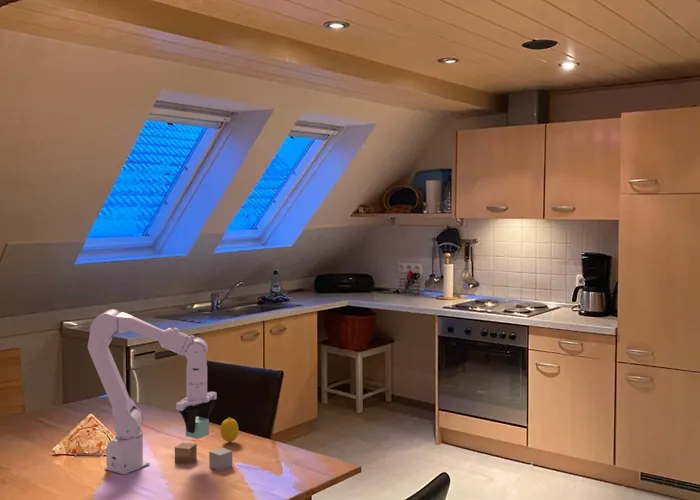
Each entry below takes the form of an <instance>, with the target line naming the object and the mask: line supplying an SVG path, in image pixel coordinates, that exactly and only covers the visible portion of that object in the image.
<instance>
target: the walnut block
mask: <svg viewBox="0 0 700 500" xmlns="http://www.w3.org/2000/svg"><path fill="white" fill-rule="evenodd" d="M197 446H198V445H197V443H191V442H183V441H182V442H181V443H180V444H178V445H176V446H174V463H176V464H177V463H178V464H181V465H182V464H183V465H190V464H191V463H193V462H194V461H196V460H197V458H198V457H197V453H198V451H197V450H198V448H197Z"/></svg>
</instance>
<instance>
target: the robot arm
mask: <svg viewBox="0 0 700 500" xmlns="http://www.w3.org/2000/svg"><path fill="white" fill-rule="evenodd" d="M89 326H90V327H89V336H88V342H87V350H88V353H89V356H90V358H91V359H92V360H91V361H92V362H93V364H94V368H95V369H96V372H97V374H98V377H99V379H100V382H101V384H102V386H103V388H104V391H105V393H106V396H107V399H108V400H109V403H110V405H111V407H112V408H111V411H112V413H111V415H112V418H113V421H114V424H113V425H114V426H113V431H114V432H115V437H114V438H113V439H112V440H109V442H108V443H107V445H106V466H104V470H106V471H110V472H113V473H117V474H120V475H126V474H129V473H131V472H134V471H136V470H138V469H141V468H144V467H146V466H148V465H150V462H149V461H146V460H144V441H143V440H144V435H143V433H144V432H143V430H142V429H141V427H140V426H141V425H142V423H144V413H143V411H142V410H141V409H140V408H139V407H138V406H137V405H136V403H135V401H134V400H133V398H131V397H130V396H129V393H128V391H127V390H128V389H127V388H126V385H125V383H124V381H123V378H122V375H121V374H120V371H119V368H118V367H117V363H116V362H115V360H114V358H113V354H112V352H111V350H110V347H109V345H110V344H111V342H112V341H113V340H112V339H113V338H114V336H115V335H116V334H117V333H118V334H122V333H123V334H124V333H129V332H133V333H136V334H138V335H141V336H144V337H146V338H150V339H153V340H156V341H157V342H158V343H159V344H160V347H161V348H163V349H165V350H168V351H171V352H173V353H175V354H178V355H180V356H184V357H185V358H186V367H185V368H186V397H185V398H183V399H181V400H180V401H178V402H175V410H176V411H178V412H179V413H180V415H181V417H182V419H183V421H184V424H185V429H186V428H187V432H190V433H194V431H195V421H196V417H202V418H207V419H209V420H210V416H211V413H212V411H213V409H214V408H215V405H216V404H215V403H216V402H215V401H214V400H217V397H218V396H217V394H218V393H217V392H216V391H208V365H207V364H208V359H207V355H208V354H207V353H208V350H209V346H208V342H206V341H205V339H203V338H201V337H195V335H192V334H191V335H188V334H186V333H184V332H181V331H179V328H177V327H174V328H171V327H168V328H166V329H162V328H159V327H158V326H155V325H153V324H151V323H148V322H147V321H145V320H142V319H140V318H138V317H135V316H133V315H131V314H129V313H127V312H123V311H122V312H121V311H119V310H117V309H112V308H111V309H107V310H105V311H104V312H103V313H101V314H98V315H97V316H96V317H95V318H94V319H93V321H92V323H91V324H90V325H89ZM212 400H213V401H212ZM195 407H196V408H195Z"/></svg>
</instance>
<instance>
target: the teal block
mask: <svg viewBox="0 0 700 500" xmlns="http://www.w3.org/2000/svg"><path fill="white" fill-rule="evenodd" d="M209 422H210V418H209V419H207V418H202V417H199V416H196V421H195V431H194V433H190V432H187V428H186V427H185V437H186V438H192V439H197V440H198V439H202V438H204V437H206V436H209V435H210V433H209V432H210V427H209V426H210V423H209Z"/></svg>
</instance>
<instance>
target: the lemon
mask: <svg viewBox="0 0 700 500" xmlns="http://www.w3.org/2000/svg"><path fill="white" fill-rule="evenodd" d="M239 432H240V431H239V424H238V422H237V420H235V419H234V418H231V417H228V418H227V419H224V420H223V421H222V423H221V426H220V436H221V438H222V439H223V440H224V441H226V442H227V443H228V444H231V443H232V442H234V441H235V440H236V439H237V438H238V436H239Z"/></svg>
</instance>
